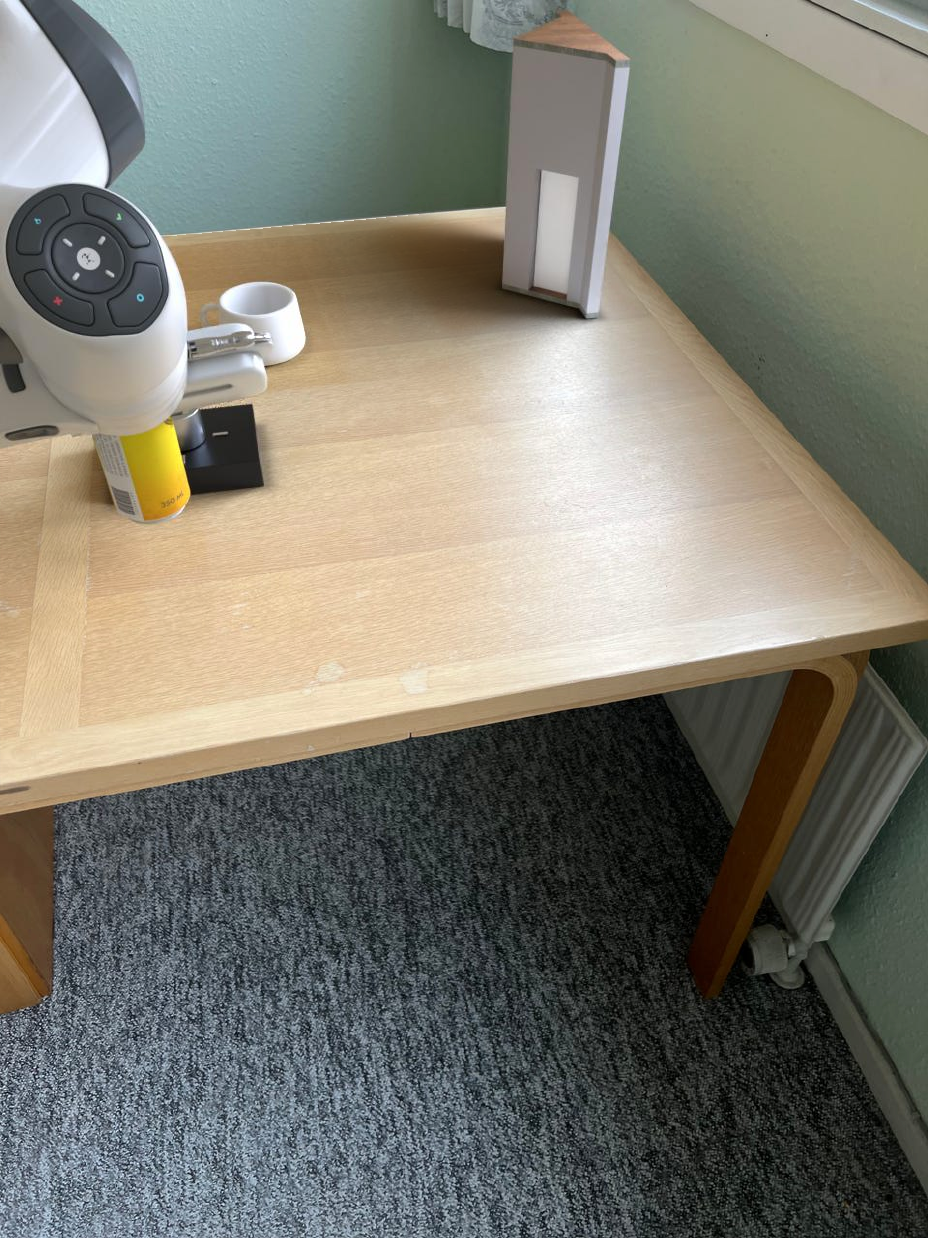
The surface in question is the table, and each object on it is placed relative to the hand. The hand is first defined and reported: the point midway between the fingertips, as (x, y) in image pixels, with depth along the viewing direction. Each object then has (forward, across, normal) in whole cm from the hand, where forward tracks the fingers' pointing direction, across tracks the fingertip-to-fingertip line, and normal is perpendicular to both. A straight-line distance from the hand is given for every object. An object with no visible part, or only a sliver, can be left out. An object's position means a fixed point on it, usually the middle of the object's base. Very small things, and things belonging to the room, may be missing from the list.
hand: (128, 415), depth 71 cm
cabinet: (+36, -54, -15) cm, 67 cm away
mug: (+34, -16, -13) cm, 40 cm away
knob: (+17, -4, -1) cm, 18 cm away
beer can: (+6, 0, +6) cm, 9 cm away
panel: (+19, -4, +1) cm, 20 cm away
